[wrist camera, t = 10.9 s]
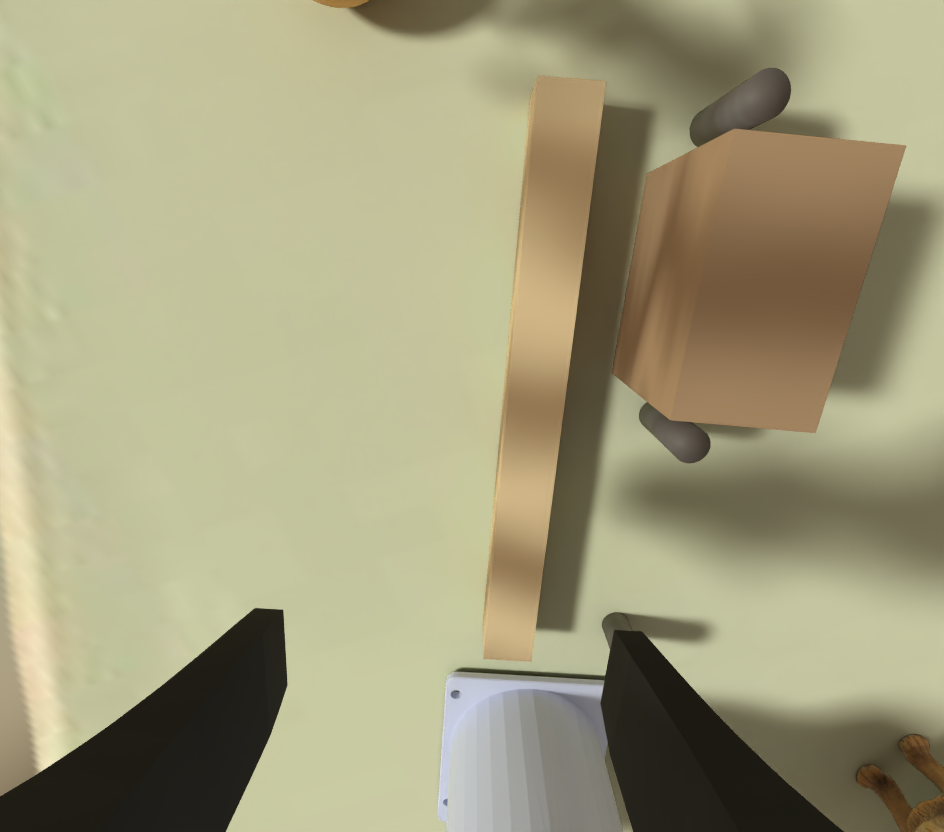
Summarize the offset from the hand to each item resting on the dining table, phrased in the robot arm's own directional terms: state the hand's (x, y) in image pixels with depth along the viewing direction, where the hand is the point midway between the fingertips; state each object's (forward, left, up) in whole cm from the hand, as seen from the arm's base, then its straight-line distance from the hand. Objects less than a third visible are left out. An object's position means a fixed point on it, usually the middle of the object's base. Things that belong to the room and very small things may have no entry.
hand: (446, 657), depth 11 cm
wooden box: (+8, -8, -10) cm, 15 cm away
